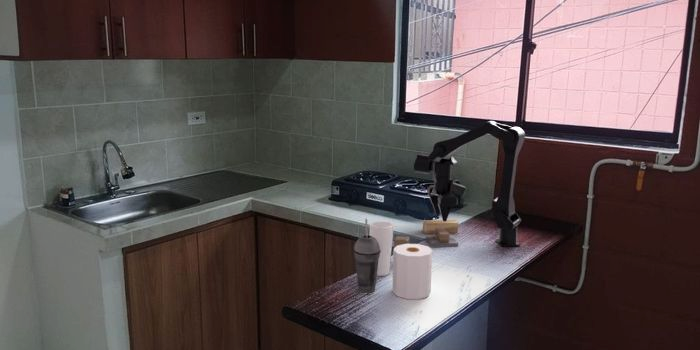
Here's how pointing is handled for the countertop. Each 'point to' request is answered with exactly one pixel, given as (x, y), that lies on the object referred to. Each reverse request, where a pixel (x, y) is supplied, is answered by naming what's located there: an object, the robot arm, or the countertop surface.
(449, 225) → the oak bar
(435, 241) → the balance stand
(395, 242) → the wooden block
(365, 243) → the beverage cup
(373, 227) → the drinking glass
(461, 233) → the countertop surface
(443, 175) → the robot arm
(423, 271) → the toilet paper
